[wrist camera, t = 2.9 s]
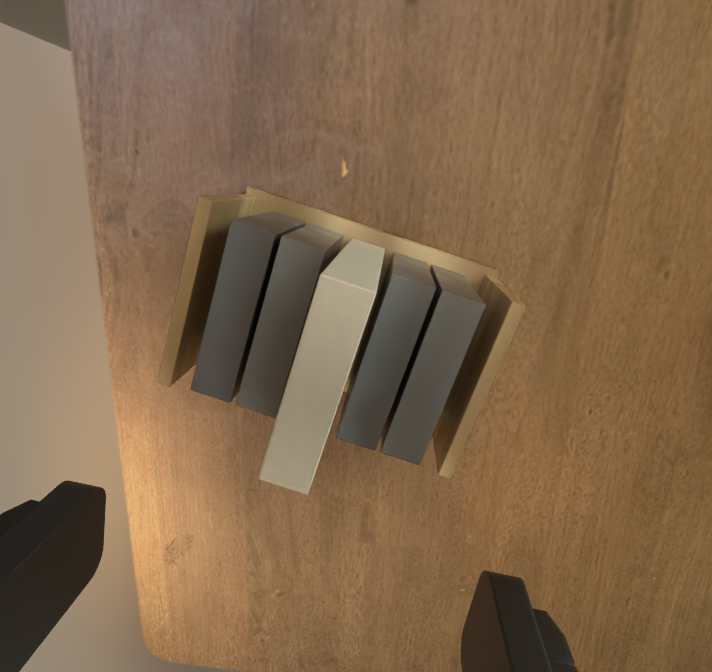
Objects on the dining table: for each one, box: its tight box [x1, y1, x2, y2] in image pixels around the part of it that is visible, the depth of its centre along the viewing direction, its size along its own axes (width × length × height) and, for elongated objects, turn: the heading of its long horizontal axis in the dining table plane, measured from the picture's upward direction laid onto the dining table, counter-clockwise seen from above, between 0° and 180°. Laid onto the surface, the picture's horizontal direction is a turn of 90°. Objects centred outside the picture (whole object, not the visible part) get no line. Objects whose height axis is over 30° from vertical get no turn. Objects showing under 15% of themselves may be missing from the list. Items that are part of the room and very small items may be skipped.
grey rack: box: [158, 187, 526, 479], centre depth 32 cm, size 18×12×10 cm, turn 72°
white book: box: [259, 238, 385, 494], centre depth 29 cm, size 2×10×15 cm, turn 162°
